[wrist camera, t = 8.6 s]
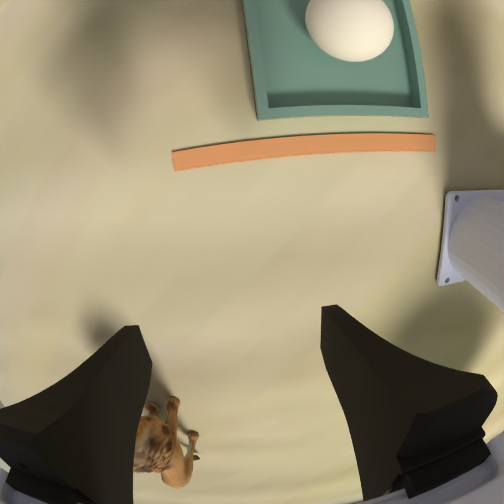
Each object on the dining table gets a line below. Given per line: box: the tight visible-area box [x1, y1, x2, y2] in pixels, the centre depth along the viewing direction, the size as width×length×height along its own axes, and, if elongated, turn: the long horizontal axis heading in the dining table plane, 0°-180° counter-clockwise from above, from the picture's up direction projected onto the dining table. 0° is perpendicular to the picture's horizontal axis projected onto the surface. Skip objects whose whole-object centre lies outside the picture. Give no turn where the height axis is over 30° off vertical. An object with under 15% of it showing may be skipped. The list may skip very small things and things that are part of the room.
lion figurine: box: [133, 397, 200, 489], centre depth 23 cm, size 15×5×9 cm, turn 16°
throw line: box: [172, 133, 435, 171], centre depth 18 cm, size 18×1×1 cm, turn 97°
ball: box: [305, 0, 394, 62], centre depth 12 cm, size 5×5×5 cm
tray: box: [242, 0, 429, 121], centre depth 14 cm, size 11×11×1 cm
